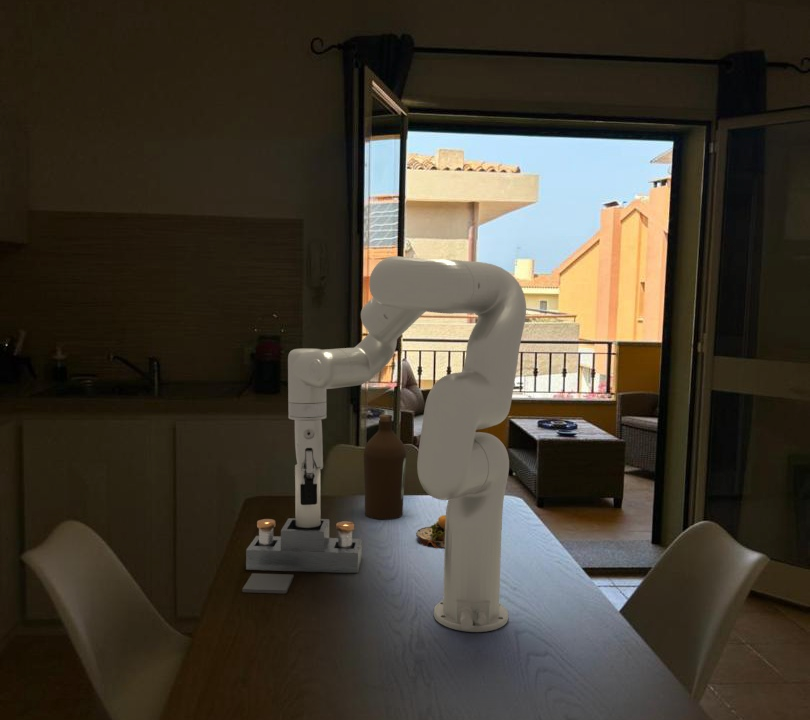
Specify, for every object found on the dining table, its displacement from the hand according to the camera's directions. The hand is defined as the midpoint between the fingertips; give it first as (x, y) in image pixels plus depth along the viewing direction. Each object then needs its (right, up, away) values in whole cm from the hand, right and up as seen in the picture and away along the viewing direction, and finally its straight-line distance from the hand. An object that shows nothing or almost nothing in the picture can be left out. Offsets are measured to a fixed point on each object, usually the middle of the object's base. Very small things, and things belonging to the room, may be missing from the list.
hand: (308, 499), depth 154 cm
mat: (-6, -14, -10) cm, 18 cm away
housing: (-1, -13, +1) cm, 13 cm away
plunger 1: (-9, -13, +2) cm, 15 cm away
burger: (+28, -13, +19) cm, 36 cm away
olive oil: (+14, -11, +38) cm, 42 cm away
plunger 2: (+7, -13, +1) cm, 15 cm away
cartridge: (0, -5, 0) cm, 5 cm away
